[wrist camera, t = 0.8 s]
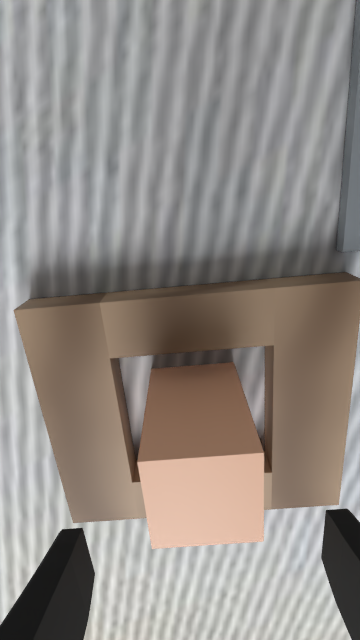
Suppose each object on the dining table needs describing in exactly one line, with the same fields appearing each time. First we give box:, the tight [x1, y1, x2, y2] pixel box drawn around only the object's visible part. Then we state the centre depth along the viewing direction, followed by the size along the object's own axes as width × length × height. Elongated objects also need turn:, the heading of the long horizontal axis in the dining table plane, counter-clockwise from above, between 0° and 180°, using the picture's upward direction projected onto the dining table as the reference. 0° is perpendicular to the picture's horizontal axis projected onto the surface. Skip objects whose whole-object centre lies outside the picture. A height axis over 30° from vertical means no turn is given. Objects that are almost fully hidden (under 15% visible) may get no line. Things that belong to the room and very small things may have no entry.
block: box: [137, 362, 264, 549], centre depth 14 cm, size 4×4×6 cm
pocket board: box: [14, 272, 360, 523], centre depth 16 cm, size 14×12×2 cm
